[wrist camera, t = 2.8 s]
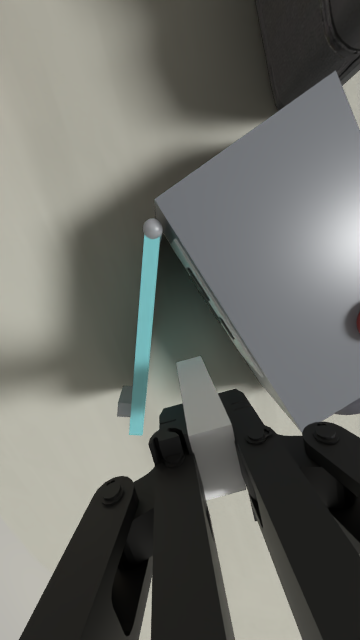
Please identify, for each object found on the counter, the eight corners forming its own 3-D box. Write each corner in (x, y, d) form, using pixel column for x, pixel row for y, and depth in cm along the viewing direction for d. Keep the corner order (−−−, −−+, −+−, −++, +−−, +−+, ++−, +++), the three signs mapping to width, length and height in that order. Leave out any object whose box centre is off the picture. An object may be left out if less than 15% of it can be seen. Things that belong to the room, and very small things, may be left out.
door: (136, 229, 18) (125, 214, 13) (162, 232, 19) (163, 219, 13) (125, 386, 21) (112, 434, 15) (148, 387, 21) (144, 435, 15)
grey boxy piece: (153, 223, 19) (148, 198, 11) (270, 141, 18) (348, 56, 11) (269, 403, 23) (323, 472, 16) (367, 341, 22) (473, 382, 15)
